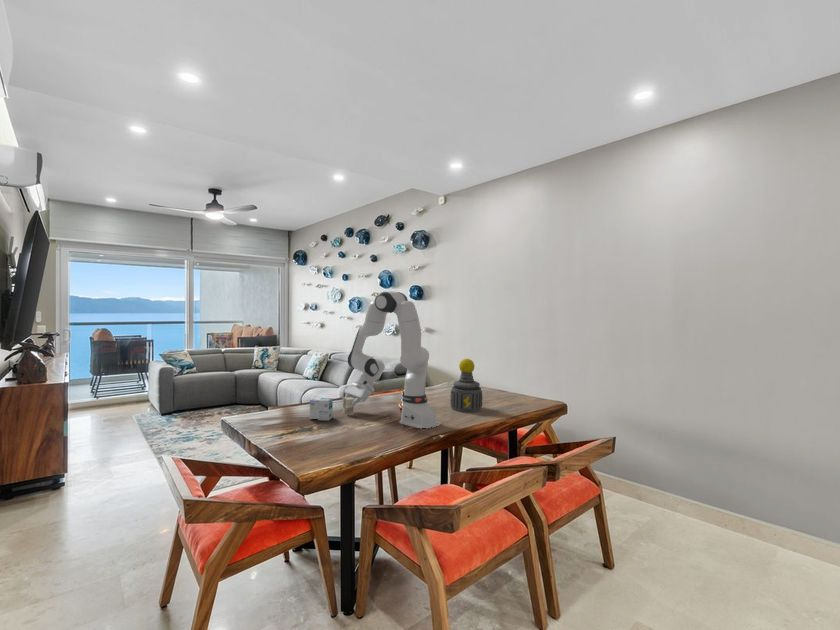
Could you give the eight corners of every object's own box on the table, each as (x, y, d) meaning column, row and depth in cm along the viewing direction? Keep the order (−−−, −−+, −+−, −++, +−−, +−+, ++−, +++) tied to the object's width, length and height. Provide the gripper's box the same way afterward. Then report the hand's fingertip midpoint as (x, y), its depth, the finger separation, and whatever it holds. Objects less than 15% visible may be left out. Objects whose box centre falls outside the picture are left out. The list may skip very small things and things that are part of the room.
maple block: (353, 414, 233) (353, 398, 233) (346, 415, 230) (347, 399, 230) (349, 412, 237) (349, 397, 237) (342, 413, 234) (342, 397, 234)
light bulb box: (332, 417, 227) (333, 397, 226) (329, 420, 220) (329, 400, 220) (313, 416, 228) (313, 396, 227) (309, 420, 221) (309, 399, 221)
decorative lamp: (449, 404, 261) (450, 356, 260) (480, 405, 260) (481, 357, 260) (450, 412, 242) (451, 360, 242) (483, 413, 241) (484, 360, 241)
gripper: (351, 377, 246) (336, 396, 241) (369, 383, 230) (353, 403, 224) (358, 384, 249) (342, 403, 243) (376, 390, 233) (360, 410, 227)
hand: (348, 403), depth 234 cm, fingers open, 8 cm apart
